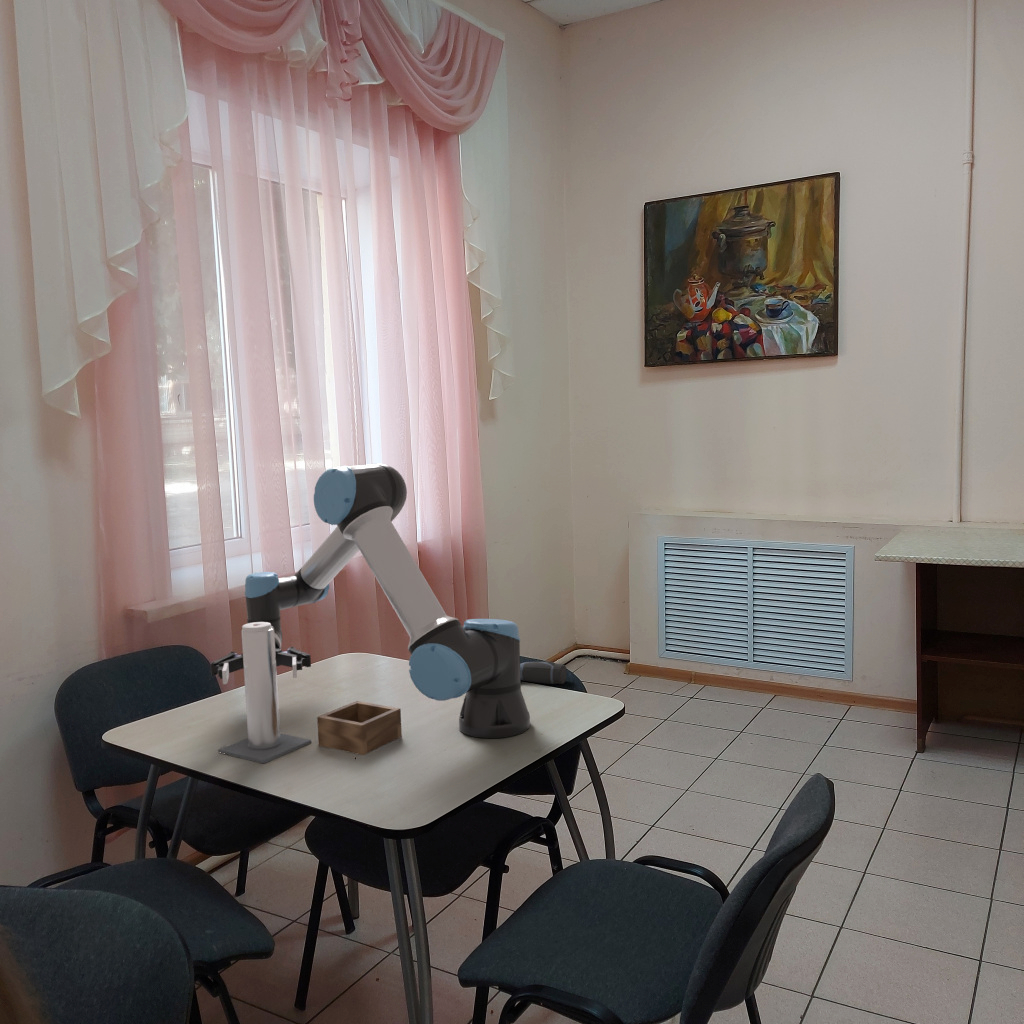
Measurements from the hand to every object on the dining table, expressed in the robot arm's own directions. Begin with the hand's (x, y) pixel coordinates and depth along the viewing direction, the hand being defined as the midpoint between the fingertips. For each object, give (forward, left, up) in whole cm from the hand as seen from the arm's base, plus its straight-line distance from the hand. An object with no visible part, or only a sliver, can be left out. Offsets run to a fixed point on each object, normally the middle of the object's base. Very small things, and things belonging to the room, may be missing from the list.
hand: (259, 674), depth 184 cm
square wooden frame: (-14, -13, -16) cm, 25 cm away
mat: (+1, -1, -16) cm, 16 cm away
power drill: (-22, -63, -16) cm, 69 cm away
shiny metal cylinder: (+1, -1, -15) cm, 15 cm away
